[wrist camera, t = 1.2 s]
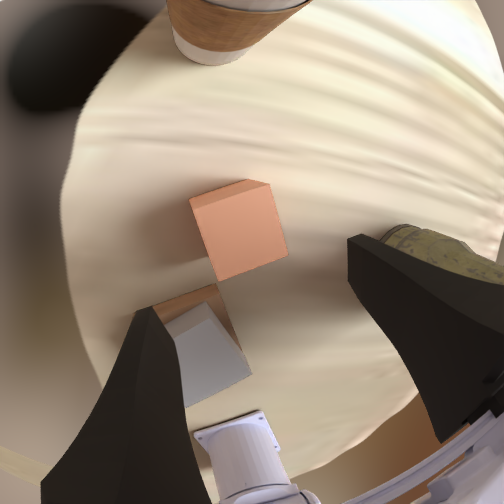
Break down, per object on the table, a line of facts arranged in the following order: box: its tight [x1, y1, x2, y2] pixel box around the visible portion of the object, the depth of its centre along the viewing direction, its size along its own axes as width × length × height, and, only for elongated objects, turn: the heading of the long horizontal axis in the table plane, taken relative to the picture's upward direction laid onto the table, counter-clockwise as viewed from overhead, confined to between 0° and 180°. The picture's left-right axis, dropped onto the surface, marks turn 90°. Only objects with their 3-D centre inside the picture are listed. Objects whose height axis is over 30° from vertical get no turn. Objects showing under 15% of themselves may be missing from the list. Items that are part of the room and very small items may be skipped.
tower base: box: [132, 283, 242, 351], centre depth 23 cm, size 7×7×2 cm
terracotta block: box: [189, 179, 288, 282], centre depth 19 cm, size 4×4×5 cm
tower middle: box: [164, 301, 252, 408], centre depth 20 cm, size 6×6×2 cm
